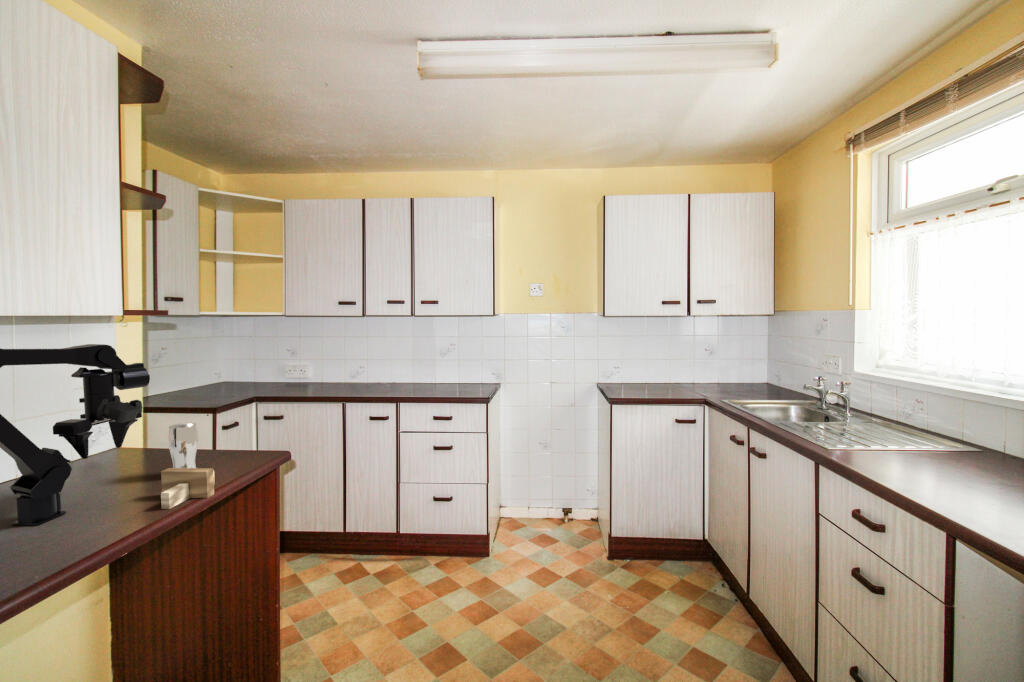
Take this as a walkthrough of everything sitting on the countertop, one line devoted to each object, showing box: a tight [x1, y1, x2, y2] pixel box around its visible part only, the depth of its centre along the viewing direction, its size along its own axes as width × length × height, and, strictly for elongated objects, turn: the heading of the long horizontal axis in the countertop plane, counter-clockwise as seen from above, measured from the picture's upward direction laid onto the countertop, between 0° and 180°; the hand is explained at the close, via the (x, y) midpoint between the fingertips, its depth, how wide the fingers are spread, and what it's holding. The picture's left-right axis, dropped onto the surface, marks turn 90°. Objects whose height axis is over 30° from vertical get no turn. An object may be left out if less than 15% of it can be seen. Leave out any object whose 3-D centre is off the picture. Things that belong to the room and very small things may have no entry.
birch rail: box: [160, 469, 216, 510], centre depth 117 cm, size 16×2×4 cm, turn 179°
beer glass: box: [167, 422, 199, 468], centre depth 132 cm, size 7×7×15 cm
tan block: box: [160, 467, 215, 499], centre depth 116 cm, size 2×12×7 cm, turn 89°
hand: (102, 452), depth 115 cm, fingers open, 9 cm apart
